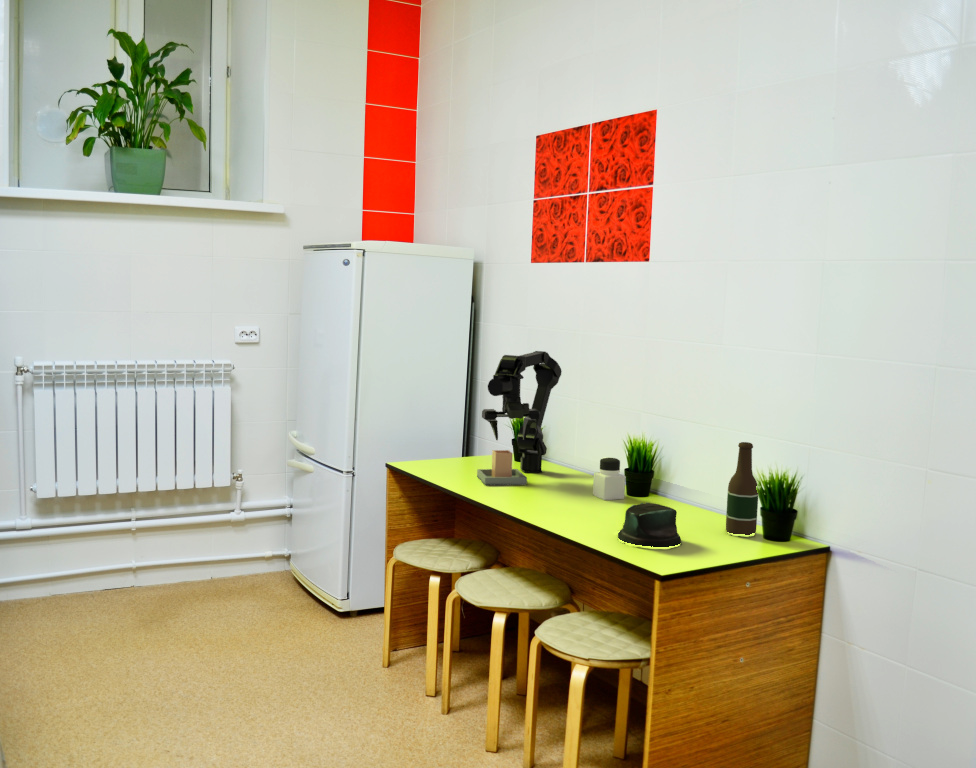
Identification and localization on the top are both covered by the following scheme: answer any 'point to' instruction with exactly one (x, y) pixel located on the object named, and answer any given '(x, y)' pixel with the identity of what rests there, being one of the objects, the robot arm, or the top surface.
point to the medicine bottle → (609, 480)
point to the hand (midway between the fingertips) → (510, 439)
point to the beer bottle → (742, 495)
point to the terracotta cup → (501, 463)
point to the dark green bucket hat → (650, 526)
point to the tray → (501, 478)
